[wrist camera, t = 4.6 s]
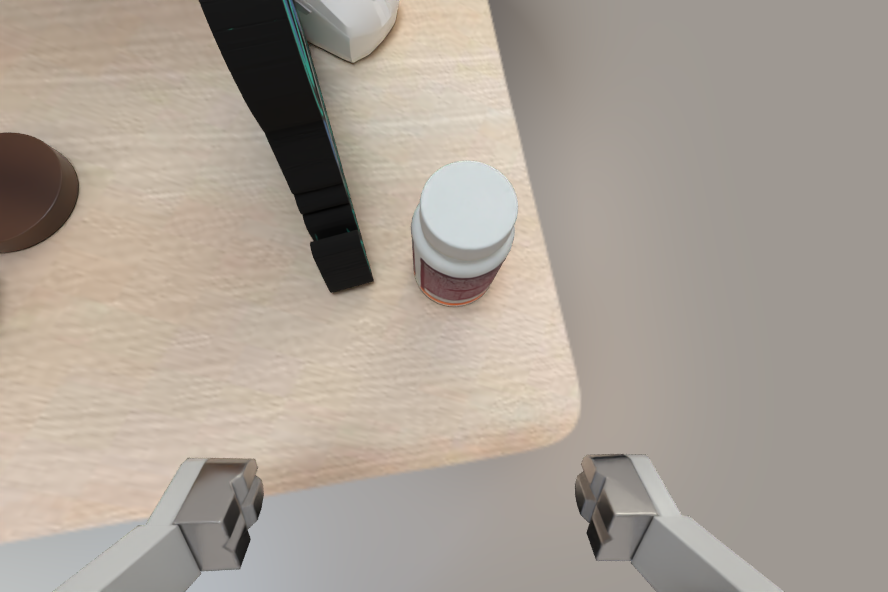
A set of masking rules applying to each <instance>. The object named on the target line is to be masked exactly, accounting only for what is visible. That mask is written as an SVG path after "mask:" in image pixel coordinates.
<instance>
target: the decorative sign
mask: <svg viewBox="0 0 888 592" xmlns="http://www.w3.org/2000/svg"><path fill="white" fill-rule="evenodd" d="M199 2H200V4H201V7H202V10H203V12H204V14H205V17H206V19H207V22H208V24H209V26H210V29H211V31H212V33H213V36H214V38H215V40H216V42H217V45H218V47H219V49H220V51H221V54H222V56H223V58H224V60H225V62H226V64H227V66H228V69H229V71H230V72H231V75H232V77H233V79H234V81H235V83H236V84H237V86H238V88H239V90H240V92H241V94H242V96H243V98H244V100H245V102H246V104H247V106H248V107H249V109H250V111H251V112H252V114H253V116H254V117H255V119H256V120H257V122H258V124H259V125H260V127H261V128H262V130H263V131H264V132H265V134H266V137H267V139H268V142H269V144H270V146H271V148H272V150H273V153H274V155H275V157H276V159H277V161H278V163H279V166H280V168H281V170H282V172H283V174H284V176H285V179H286V181H287V183H288V185H289V188H290V190H291V192H292V193H293V194H294V196H295V200H296V203H297V206H298V209H299V211H300V213H301V214H303V219H304V222H305V225H306V228H307V230H308V232H309V234H310V235H311V237H312V239H313V240H314V241H313V242H311V243H310V246H311V251H312V255H313V258H314V260H315V262H316V264H317V266H318V268H319V270H320V273H321V275H322V277H323V279H324V281H325V283H326V285H327V287H328V289H329V291H330V292H331V293H333V292H336V291H340V290H344V289H347V288H351V287H354V286H358V285H362V284H365V283H369V282H373V277H372V273H371V269H370V266H369V262H368V259H367V256H366V251H365V248H364V244H363V241H362V237H361V233H360V230H359V227H358V223H357V219H356V216H355V212H354V209H353V205H352V201H351V198H350V194H349V190H348V187H347V183H346V180H345V177H344V173H343V169H342V165H341V162H340V158H339V155H338V151H337V147H336V144H335V140H334V137H333V133H332V129H331V126H330V122H329V119H328V116H327V111H326V108H325V104H324V101H323V97H322V93H321V90H320V86H319V83H318V79H317V75H316V72H315V68H314V65H313V61H312V58H311V54H310V50H309V47H308V44H307V40H306V36H305V33H304V30H303V27H302V24H301V21H300V18H299V14H298V11H297V8H296V5H295V2H294V0H199Z"/></svg>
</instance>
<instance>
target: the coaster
mask: <svg viewBox="0 0 888 592" xmlns="http://www.w3.org/2000/svg"><path fill="white" fill-rule="evenodd" d="M77 194H78V181H77V176H76V173H75V170H74V169H73V167H72V165H71V164H70V162H69V161H68V160H67V159H66V158H65V157H64V156H63V155H62V154H60V153H59V152H57V151H56V150H54V149H53V148H51V147H50V146H49V145H47V144H46V143H44V142H43V141H41V140H39V139H37V138H35V137H32V136H29V135H25V134H20V133H0V253H1V252H12V251H18V250H21V249H25V248H28V247H30V246H33V245H35V244H37V243H39V242H41V241H43V240H44V239H46V238H47V237H49V236H50V235H52V234H53V233H54V232H55V231H56V230H57V229H58V228H59V227H60V226H61V225H62V224H63V223H64V222H65V221H66V219H67V218H68V217H69V215H70V213H71V212H72V210H73V207H74V205H75V202H76V199H77Z"/></svg>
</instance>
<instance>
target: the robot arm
mask: <svg viewBox="0 0 888 592" xmlns="http://www.w3.org/2000/svg"><path fill="white" fill-rule="evenodd" d="M581 465H582V468H583V472H582V473H581V474H579V475H578V476H577V479H576V484H575V497H576V502H577V506H578V509H579V512H580V514H581V516H582V517H583V518H584V519H585V520H586V521H587V522H589V523H590V524H589V527H588V530H587V535H588V538H589V541H590V544H591V547H592V550H593V552H594V555H595V558H596V560H597V561H631V564H632V565H633V566H634V567H635V568H636V569H637V570H638V571H639V573H641V575H642V576H643V577H644V578H645V579H646V580H647V582H648V583H649V584H650V585H651V586H652V587H653V588H654V590H655V591H656V592H784V591H783V590H781V589H780V588H779V587H778V586H776V585H775V584H774V583H772V582H771V581H770V580H769V579H767V578H766V577H765V576H763V575H762V574H761V573H760V572H759V571H757V570H756V569H755V568H754V567H752V566H751V565H750V564H748V563H747V562H746V561H745V560H743V559H742V558H741V557H740V556H738V555H737V554H736V553H735V552H733V551H732V550H731V549H730V548H728V547H727V546H726V545H725V544H723V543H722V542H721V541H719V540H718V539H717V538H716V537H715V536H713V535H712V534H711V533H709V532H708V531H707V530H706V529H704V528H703V527H702V526H701V525H699V524H698V523H697V522H695V521H694V520H693V519H692V518H691V517H689V516H682V514H681V513H680V511H679V509H678V507H677V506H676V504H675V502H674V500H673V499H672V497H671V495H670V493H669V492H668V490H667V488H666V486H665V485H664V483H663V481H662V479H661V477H660V476H659V474H658V472H657V470H656V469H655V467H654V465H653V464H652V462H651V460H650V458H649V457H648V456H646V455H644V454H631V455H630V454H629V455H624V454H605V455H604V454H603V455H586V456H585V457H584V458H583V460H582V463H581ZM257 469H258V466H257V463H256V460H255V459H243V458H187V459H186V460H185V461H184V462H183V463H182V464H181V465H180V467H179V469H178V470H177V472H176V474H175V475H174V477H173V479H172V481H171V482H170V484H169V486H168V487H167V489H166V491H165V492H164V494H163V496H162V497H161V499H160V501H159V503H158V504H157V506H156V508H155V509H154V511H153V513H152V514H151V516H150V518H149V520H148V521H147V523H146V525H139V526H137V527H136V528H134V529H133V530H132V531H130V532H129V533H128V534H127V535H125V536H124V537H123V538H121V539H120V540H119V541H118V542H116V543H115V544H114V545H112V546H111V547H110V548H109V549H107V550H106V551H105V552H103V553H102V554H101V555H99V556H98V557H97V558H95V559H94V560H93V561H91V562H90V563H89V564H88V565H86V566H85V567H84V568H82V569H81V570H80V571H79V572H77V573H76V574H75V575H73V576H72V577H71V578H69V579H68V580H67V581H66V582H64V583H63V584H62V585H60V586H59V587H58V588H57V589H55V590H54V591H53V592H185V591H186V590H187V589H188V588H189V586H191V584H192V583H193V582H194V581H195V580H196V579H197V578H198V577H199V576H200V575H201V572H200V571H216V570H234V569H240V567H241V565H242V562H243V559H244V557H245V553H246V551H247V548H248V545H249V543H250V536H249V533H248V529H249V528H250V527H251V526H252V525H253V524H254V523H255V522H256V521H257V520H258V517H259V514H260V511H261V508H262V501H263V496H264V493H263V483H262V480H261V479H260V478H259V477H257V476H256V475H255V474H256V472H257Z"/></svg>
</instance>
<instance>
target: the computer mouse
mask: <svg viewBox="0 0 888 592" xmlns="http://www.w3.org/2000/svg"><path fill="white" fill-rule="evenodd" d="M294 2H295V5H296V8H297V11H298V14H299V18H300V21H301V24H302V27H303V30H304V33H305V36H306V40H307V41H309V42H310V43H312V44H314V45H316V46H318V47H320V48H322V49H324V50H326V51H328V52H330V53H332V54H334V55H336V56H338V57H340V58H342V59H344V60H347V61H349V62H352V63H354V62H356V61H358V60H360V59H362V58H364V57H366V56H367V55H369V54H370V53H371V52H372V51H373V50H374V49H375V48H376V47H377V46H378V45H379V44H380V43H381V42H382V41H383V40H384V39H385V37H386V36H387V34H388V33H389V31H390V30H391V28H392V27H393V25H394V23H395V20H396V15H397V10H398V5H399V0H294Z"/></svg>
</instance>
